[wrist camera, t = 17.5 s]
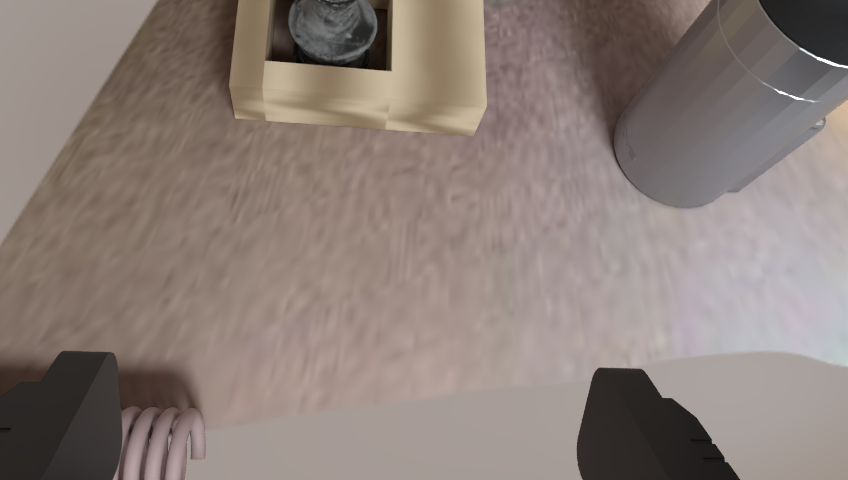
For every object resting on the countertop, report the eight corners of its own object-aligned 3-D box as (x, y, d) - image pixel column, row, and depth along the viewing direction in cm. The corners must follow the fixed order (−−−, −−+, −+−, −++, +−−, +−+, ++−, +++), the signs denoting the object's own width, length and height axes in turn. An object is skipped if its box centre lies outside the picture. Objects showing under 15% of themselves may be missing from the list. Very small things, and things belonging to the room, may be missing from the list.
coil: (200, 398, 37) (-183, 388, 34) (188, 493, 35) (-221, 490, 32) (211, 418, 41) (-132, 410, 39) (200, 504, 39) (-162, 502, 37)
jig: (469, -15, 54) (481, -54, 51) (473, 136, 50) (486, 106, 46) (251, -38, 52) (247, -80, 48) (235, 118, 47) (228, 85, 44)
